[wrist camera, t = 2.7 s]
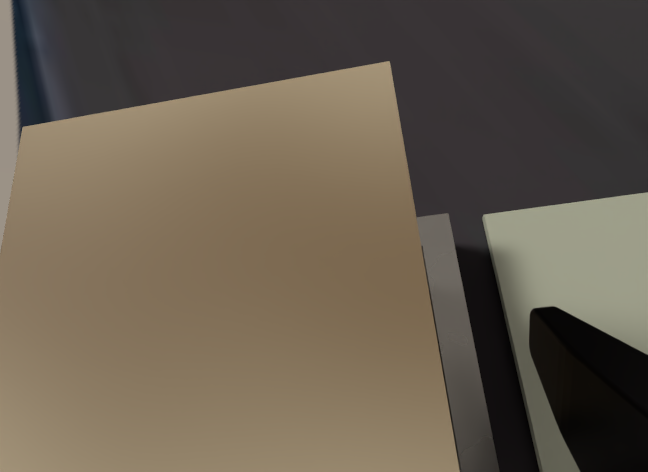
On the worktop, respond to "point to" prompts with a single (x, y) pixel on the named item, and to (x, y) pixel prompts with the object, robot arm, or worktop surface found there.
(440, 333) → the collar
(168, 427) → the block
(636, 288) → the mat
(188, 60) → the worktop surface
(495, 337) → the worktop surface
